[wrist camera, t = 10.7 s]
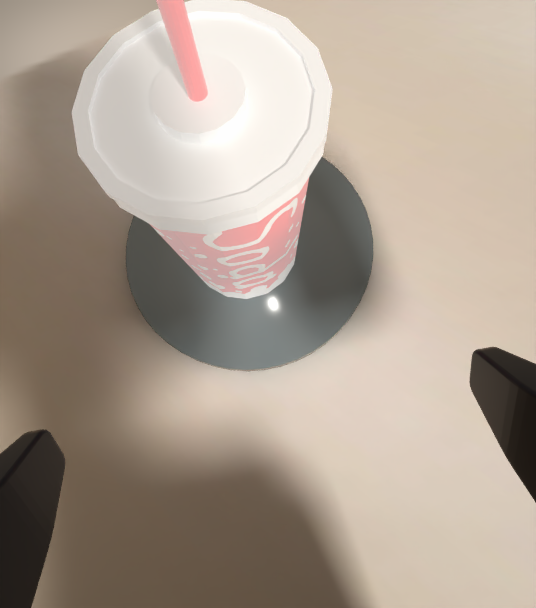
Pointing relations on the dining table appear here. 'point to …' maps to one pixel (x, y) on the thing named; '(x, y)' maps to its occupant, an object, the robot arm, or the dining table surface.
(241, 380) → the dining table surface
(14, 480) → the robot arm
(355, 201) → the coaster
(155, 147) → the beverage cup
